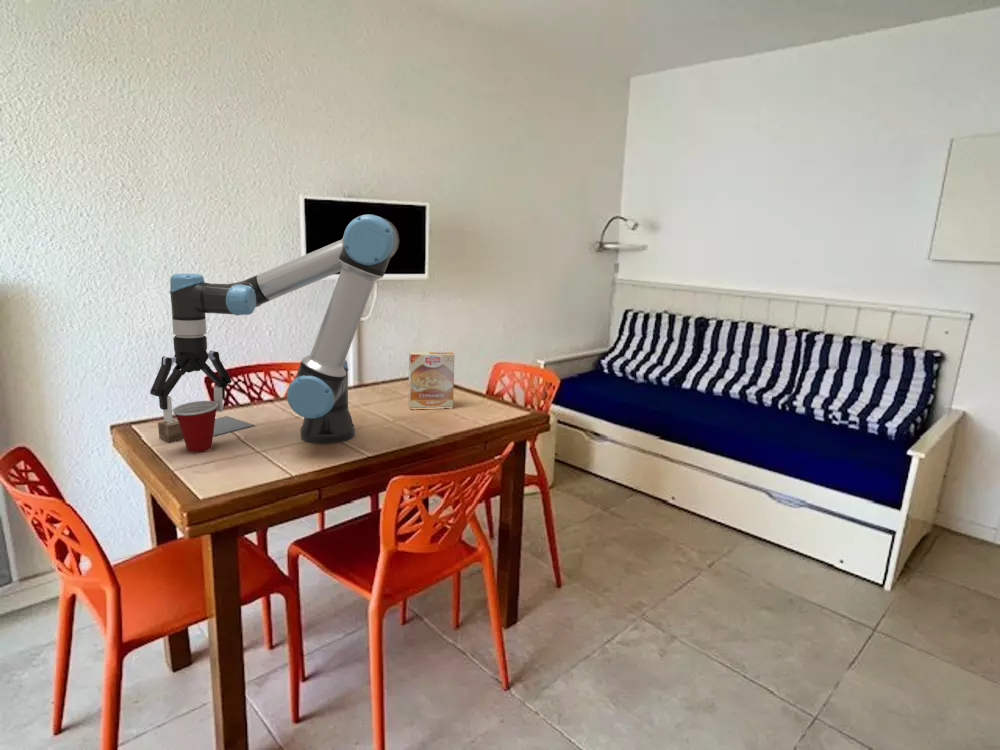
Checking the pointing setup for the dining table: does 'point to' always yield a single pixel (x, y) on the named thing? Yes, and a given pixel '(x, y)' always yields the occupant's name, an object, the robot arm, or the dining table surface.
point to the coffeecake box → (431, 379)
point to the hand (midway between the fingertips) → (194, 415)
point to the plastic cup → (197, 424)
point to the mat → (229, 425)
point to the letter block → (170, 431)
